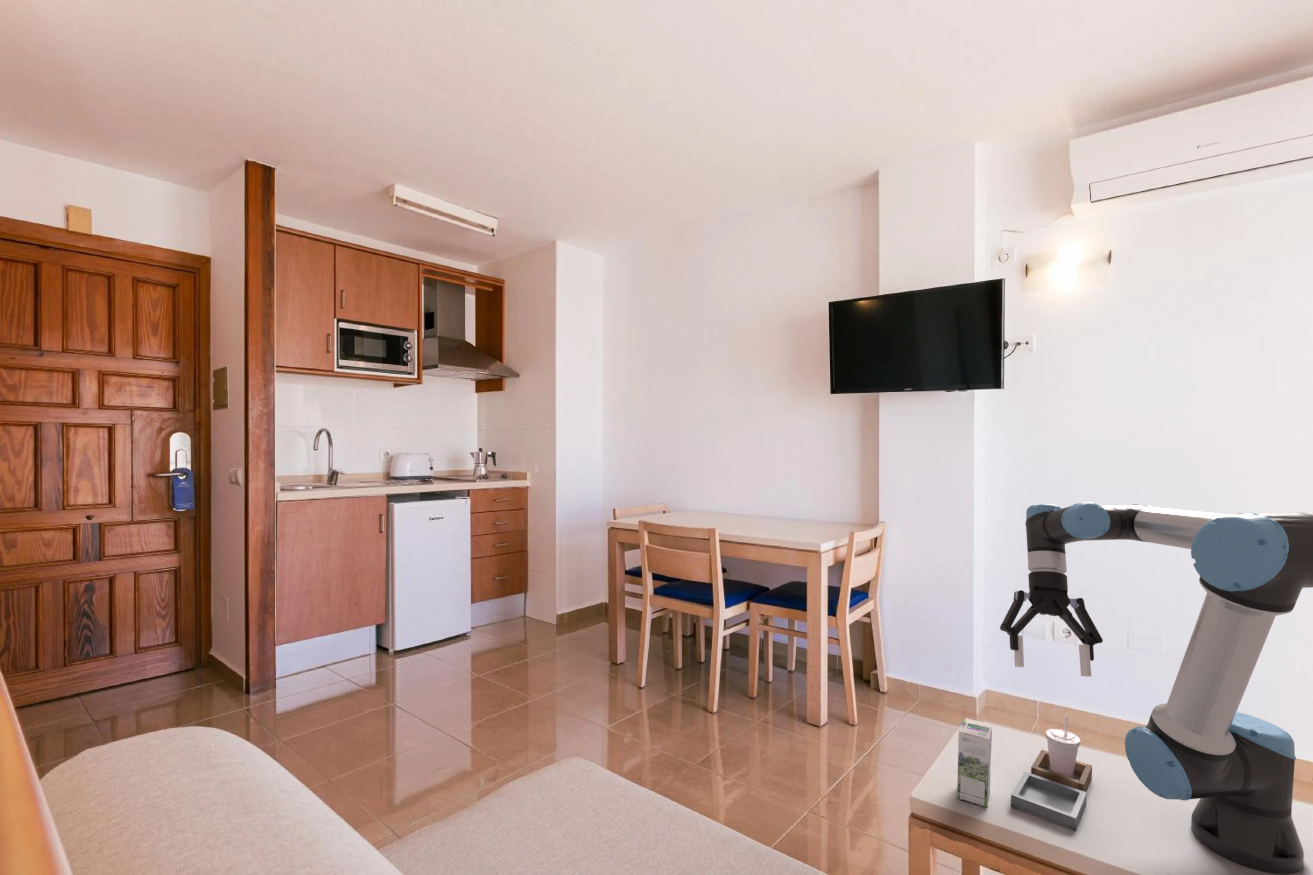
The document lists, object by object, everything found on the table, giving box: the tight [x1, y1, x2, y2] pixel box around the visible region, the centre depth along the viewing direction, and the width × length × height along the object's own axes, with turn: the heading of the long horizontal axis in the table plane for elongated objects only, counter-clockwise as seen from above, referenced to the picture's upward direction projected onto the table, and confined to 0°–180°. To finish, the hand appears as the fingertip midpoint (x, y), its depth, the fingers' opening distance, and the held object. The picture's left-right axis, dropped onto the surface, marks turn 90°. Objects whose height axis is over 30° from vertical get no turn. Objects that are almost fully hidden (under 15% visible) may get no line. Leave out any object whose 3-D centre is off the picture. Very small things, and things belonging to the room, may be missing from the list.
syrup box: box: [956, 719, 993, 808], centre depth 132 cm, size 6×6×14 cm
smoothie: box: [1044, 715, 1081, 779], centre depth 138 cm, size 6×6×14 cm
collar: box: [1030, 749, 1093, 792], centre depth 138 cm, size 10×10×3 cm
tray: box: [1010, 771, 1088, 832], centre depth 129 cm, size 11×11×2 cm
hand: (1052, 671), depth 140 cm, fingers open, 13 cm apart
